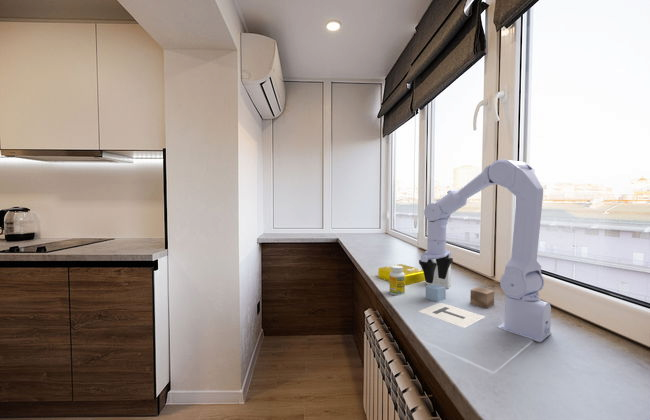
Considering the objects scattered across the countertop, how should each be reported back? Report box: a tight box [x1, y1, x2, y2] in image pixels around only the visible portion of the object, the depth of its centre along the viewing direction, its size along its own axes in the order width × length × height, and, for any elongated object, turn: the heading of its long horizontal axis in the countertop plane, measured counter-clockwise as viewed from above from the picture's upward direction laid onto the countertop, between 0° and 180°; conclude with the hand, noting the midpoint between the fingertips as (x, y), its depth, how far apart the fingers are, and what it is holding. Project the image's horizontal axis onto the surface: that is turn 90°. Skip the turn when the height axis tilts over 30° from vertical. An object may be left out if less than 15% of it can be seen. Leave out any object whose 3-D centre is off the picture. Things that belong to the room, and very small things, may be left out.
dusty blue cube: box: [425, 284, 447, 303], centre depth 98 cm, size 4×4×4 cm
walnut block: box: [469, 286, 495, 309], centre depth 93 cm, size 5×5×5 cm
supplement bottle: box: [388, 265, 406, 296], centre depth 104 cm, size 5×5×10 cm
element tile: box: [377, 263, 426, 286], centre depth 123 cm, size 15×15×5 cm
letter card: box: [418, 301, 486, 329], centre depth 85 cm, size 14×12×1 cm
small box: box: [426, 259, 452, 290], centre depth 113 cm, size 8×6×10 cm
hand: (435, 280), depth 98 cm, fingers open, 7 cm apart
